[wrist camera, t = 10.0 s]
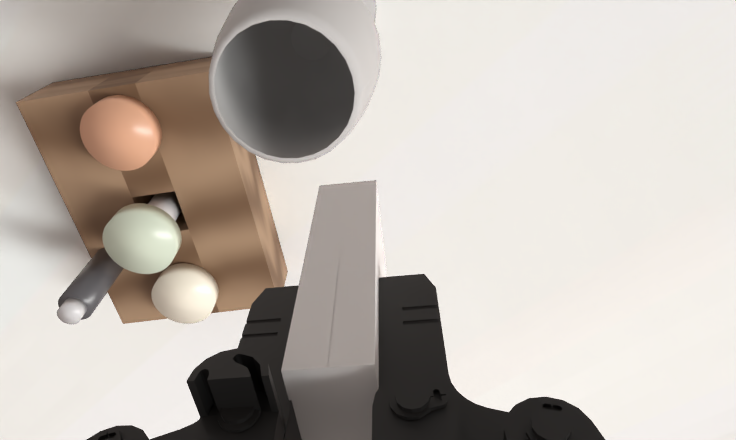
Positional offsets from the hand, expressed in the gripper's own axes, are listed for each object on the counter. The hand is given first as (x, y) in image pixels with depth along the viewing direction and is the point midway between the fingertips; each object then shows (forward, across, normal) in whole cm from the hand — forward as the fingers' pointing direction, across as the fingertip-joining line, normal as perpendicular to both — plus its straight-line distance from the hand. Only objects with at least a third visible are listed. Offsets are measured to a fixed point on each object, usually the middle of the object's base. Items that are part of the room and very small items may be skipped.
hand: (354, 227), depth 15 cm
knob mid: (+26, -17, -11) cm, 33 cm away
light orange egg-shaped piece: (+29, -18, -4) cm, 34 cm away
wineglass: (+29, -3, +1) cm, 29 cm away
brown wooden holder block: (+29, -17, -11) cm, 35 cm away
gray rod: (+24, -23, -15) cm, 36 cm away
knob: (+28, -17, -18) cm, 38 cm away
